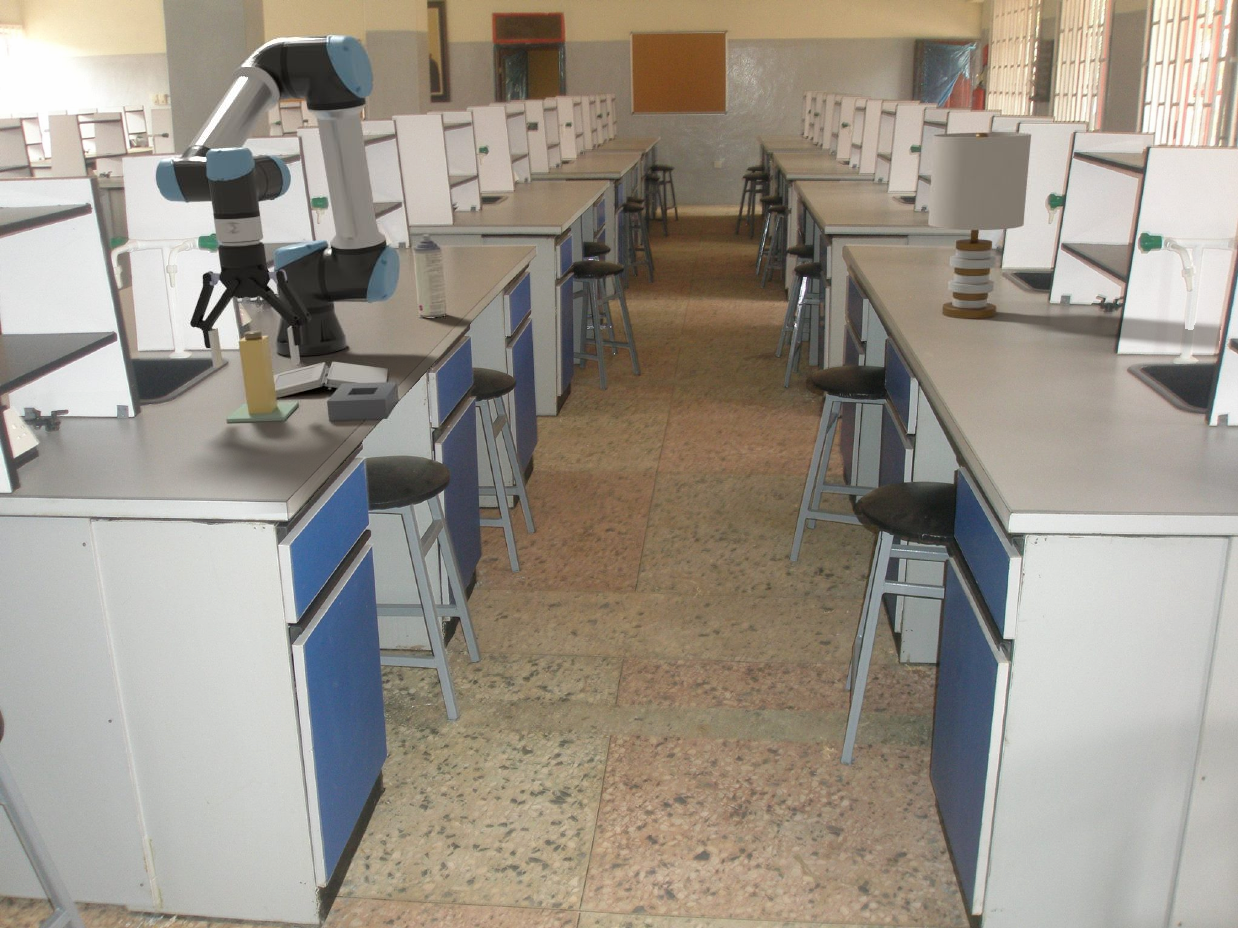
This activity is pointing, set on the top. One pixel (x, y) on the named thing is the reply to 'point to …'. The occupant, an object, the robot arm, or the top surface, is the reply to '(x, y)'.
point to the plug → (258, 373)
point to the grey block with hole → (363, 401)
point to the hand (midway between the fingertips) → (257, 365)
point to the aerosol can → (429, 278)
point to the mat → (277, 415)
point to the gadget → (317, 377)
